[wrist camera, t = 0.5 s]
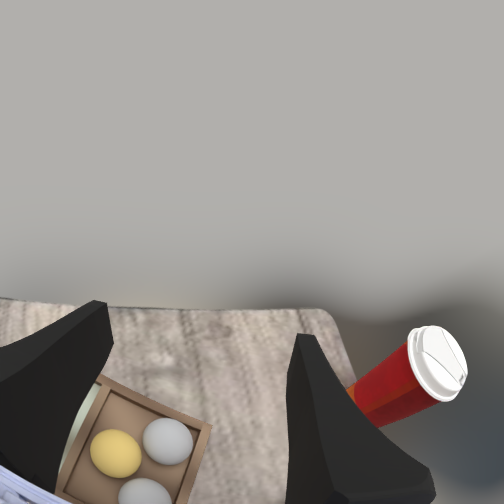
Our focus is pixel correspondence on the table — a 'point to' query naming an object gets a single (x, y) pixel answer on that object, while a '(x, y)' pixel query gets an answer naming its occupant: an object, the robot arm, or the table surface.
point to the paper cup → (412, 377)
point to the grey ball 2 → (143, 492)
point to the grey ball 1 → (167, 441)
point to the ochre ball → (115, 453)
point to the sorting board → (133, 423)
